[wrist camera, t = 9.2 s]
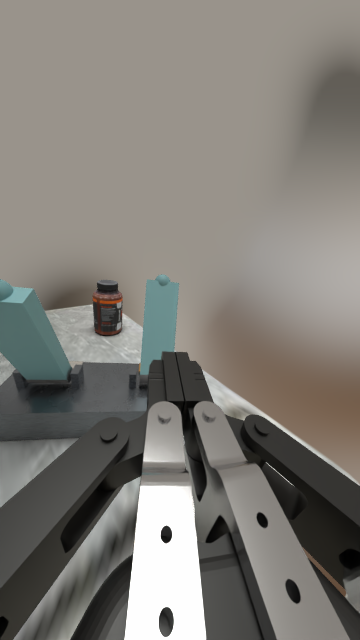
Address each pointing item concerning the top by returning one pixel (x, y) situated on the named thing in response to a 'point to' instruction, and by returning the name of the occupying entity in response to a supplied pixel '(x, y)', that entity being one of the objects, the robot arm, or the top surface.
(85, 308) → the top surface
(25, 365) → the inner lever
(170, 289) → the outer lever
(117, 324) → the supplement bottle
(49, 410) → the switch box
